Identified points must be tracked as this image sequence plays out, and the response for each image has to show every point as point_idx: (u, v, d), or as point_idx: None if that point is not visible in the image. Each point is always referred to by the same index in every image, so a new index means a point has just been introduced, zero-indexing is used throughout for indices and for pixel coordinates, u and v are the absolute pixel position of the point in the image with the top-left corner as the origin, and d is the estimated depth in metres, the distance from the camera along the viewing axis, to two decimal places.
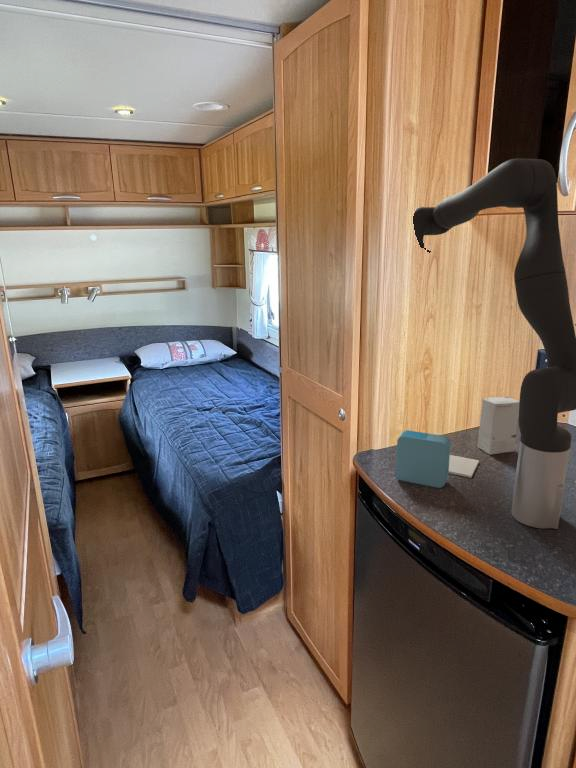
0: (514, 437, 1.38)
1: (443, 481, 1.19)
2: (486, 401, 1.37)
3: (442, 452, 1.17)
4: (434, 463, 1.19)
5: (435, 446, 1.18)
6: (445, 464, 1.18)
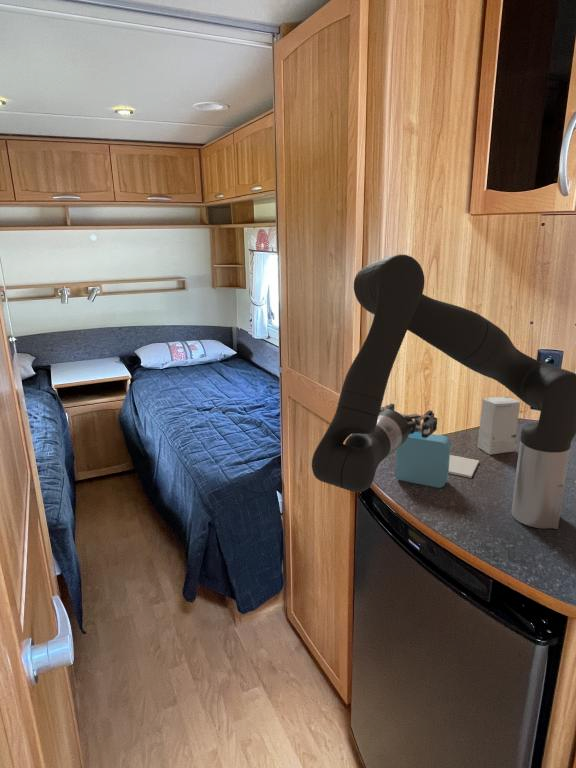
0: (514, 437, 1.38)
1: (443, 481, 1.19)
2: (486, 401, 1.37)
3: (442, 452, 1.17)
4: (434, 463, 1.19)
5: (435, 446, 1.18)
6: (445, 464, 1.18)
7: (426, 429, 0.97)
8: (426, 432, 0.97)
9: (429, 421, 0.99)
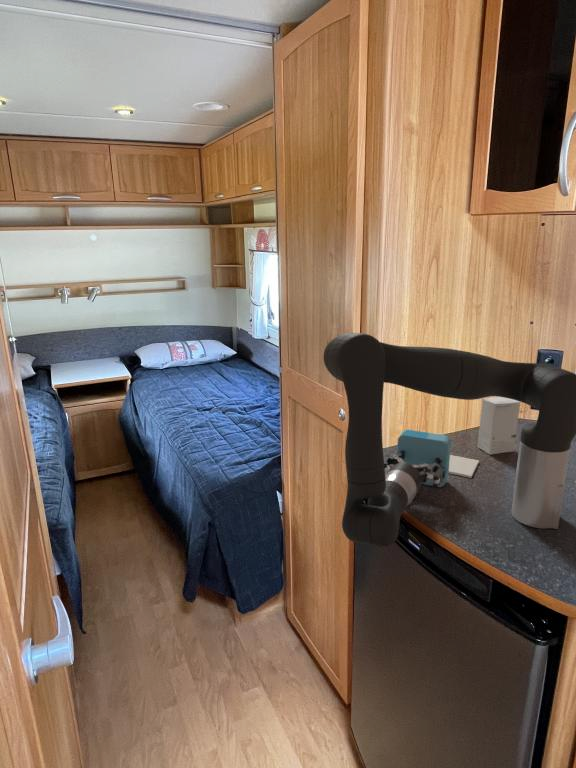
0: (514, 437, 1.38)
1: (443, 480, 1.19)
2: (486, 401, 1.37)
3: (443, 451, 1.18)
4: None
5: (435, 445, 1.18)
6: (445, 463, 1.18)
7: (437, 479, 1.08)
8: (437, 482, 1.09)
9: (439, 471, 1.11)
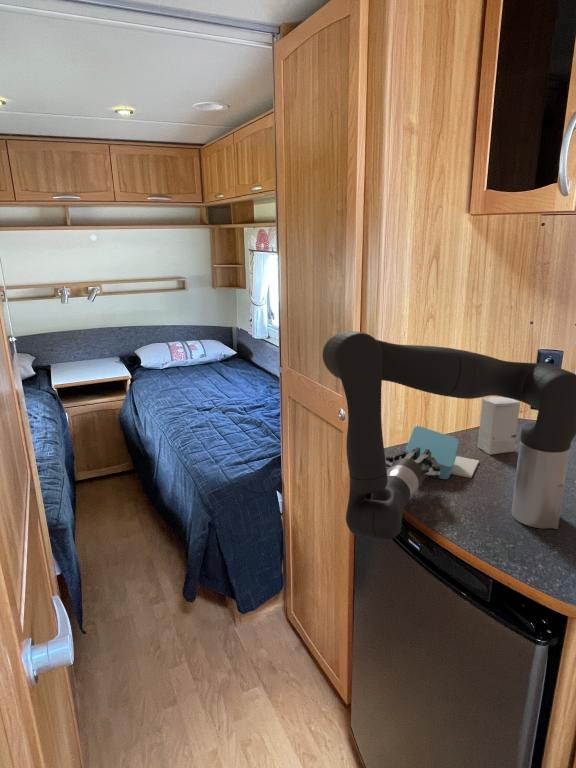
0: (514, 437, 1.38)
1: (452, 462, 1.22)
2: (486, 401, 1.37)
3: (454, 443, 1.28)
4: (445, 449, 1.26)
5: (448, 438, 1.30)
6: (456, 451, 1.26)
7: (439, 470, 1.12)
8: None
9: (434, 462, 1.15)
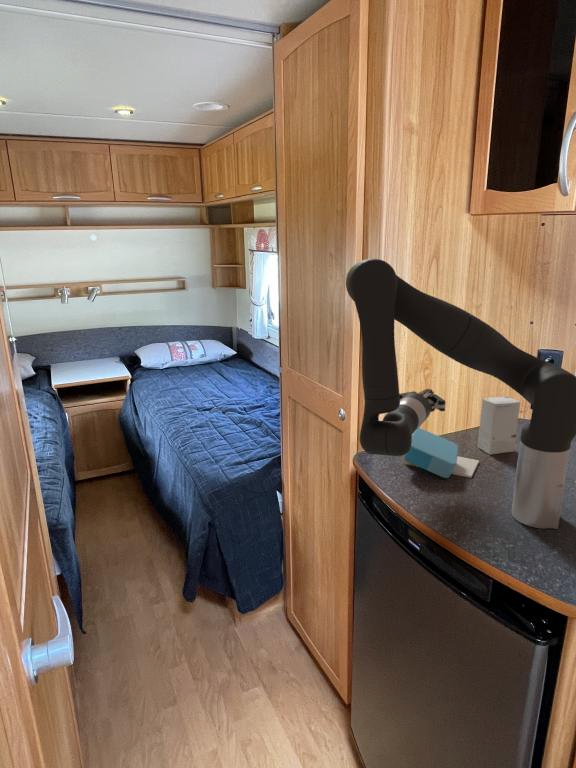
0: (514, 437, 1.38)
1: (455, 461, 1.23)
2: (486, 401, 1.37)
3: (454, 447, 1.30)
4: (447, 449, 1.27)
5: (448, 442, 1.31)
6: (457, 453, 1.27)
7: None
8: None
9: (438, 398, 1.22)
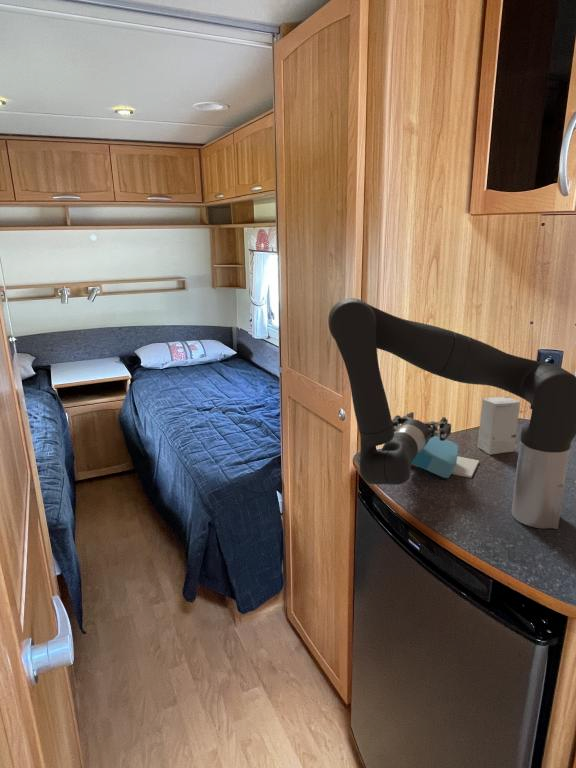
0: (514, 437, 1.38)
1: (455, 461, 1.23)
2: (486, 401, 1.37)
3: (454, 447, 1.30)
4: (447, 449, 1.27)
5: (448, 442, 1.31)
6: (457, 453, 1.27)
7: (443, 434, 1.20)
8: (443, 436, 1.20)
9: (445, 427, 1.22)
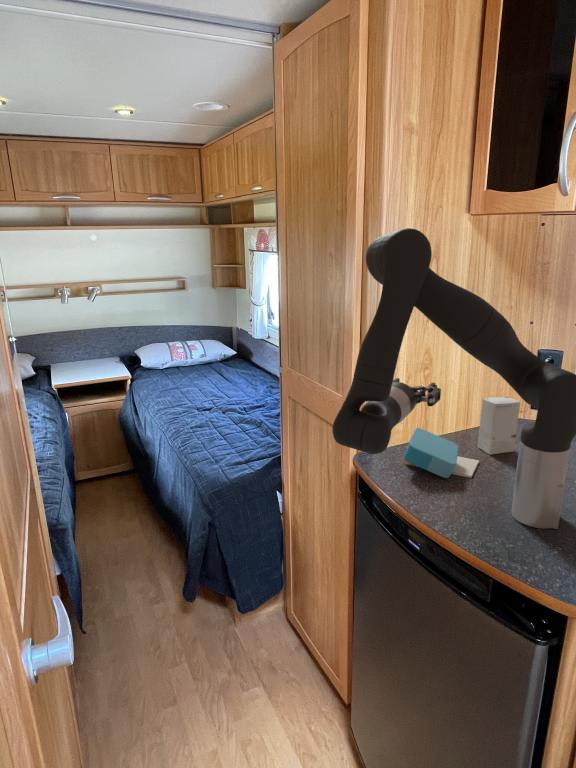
0: (514, 437, 1.38)
1: (455, 461, 1.23)
2: (486, 401, 1.37)
3: (454, 447, 1.30)
4: (447, 449, 1.27)
5: (448, 442, 1.31)
6: (457, 453, 1.27)
7: (431, 398, 1.05)
8: (432, 401, 1.06)
9: (434, 391, 1.08)
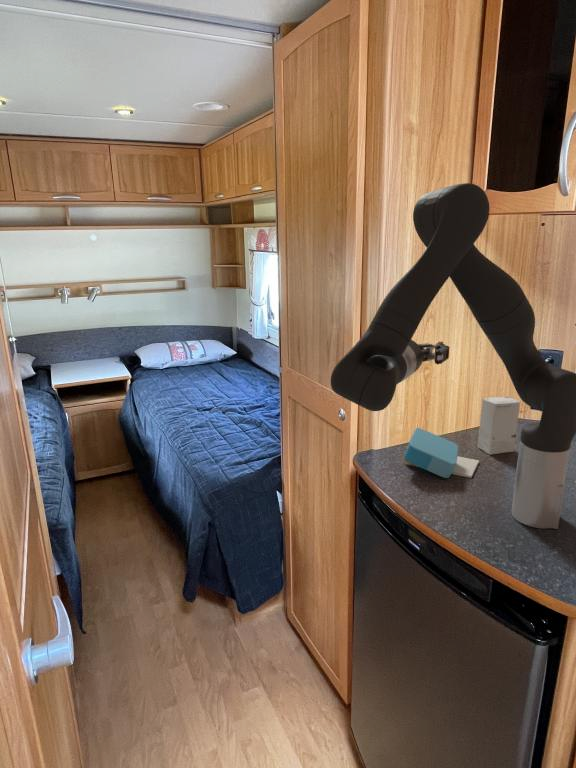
0: (514, 437, 1.38)
1: (455, 461, 1.23)
2: (486, 401, 1.37)
3: (454, 447, 1.30)
4: (447, 449, 1.27)
5: (448, 442, 1.31)
6: (457, 453, 1.27)
7: (440, 355, 0.96)
8: (440, 358, 0.96)
9: (442, 348, 0.98)
